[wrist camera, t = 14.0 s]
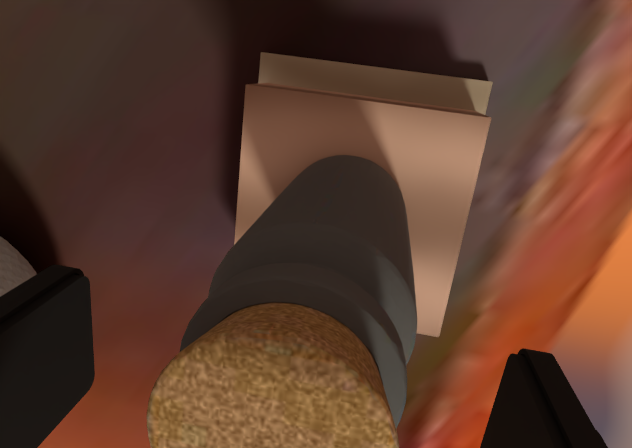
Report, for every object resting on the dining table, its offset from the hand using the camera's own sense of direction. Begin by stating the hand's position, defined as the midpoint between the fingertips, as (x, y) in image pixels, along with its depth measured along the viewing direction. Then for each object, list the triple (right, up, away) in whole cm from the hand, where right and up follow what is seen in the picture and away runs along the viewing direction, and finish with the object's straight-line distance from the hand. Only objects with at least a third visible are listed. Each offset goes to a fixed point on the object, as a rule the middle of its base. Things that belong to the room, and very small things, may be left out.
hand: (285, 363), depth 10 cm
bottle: (+2, +4, +12) cm, 13 cm away
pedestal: (+3, +5, +17) cm, 18 cm away
